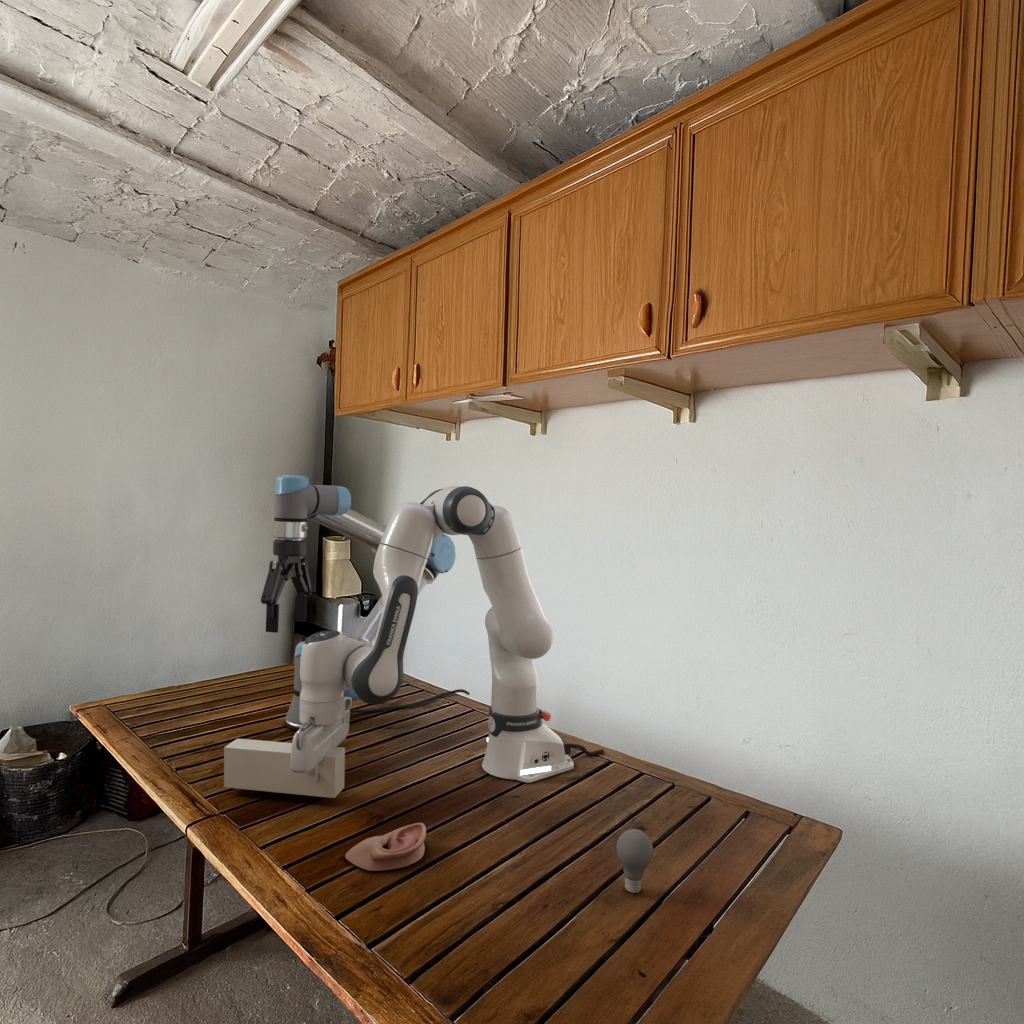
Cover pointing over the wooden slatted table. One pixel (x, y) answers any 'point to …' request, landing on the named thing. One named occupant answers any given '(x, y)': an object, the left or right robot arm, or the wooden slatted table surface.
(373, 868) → the anatomical model
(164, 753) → the wooden slatted table surface
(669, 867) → the wooden slatted table surface
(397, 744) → the wooden slatted table surface
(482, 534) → the right robot arm
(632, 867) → the light bulb
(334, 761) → the bar
